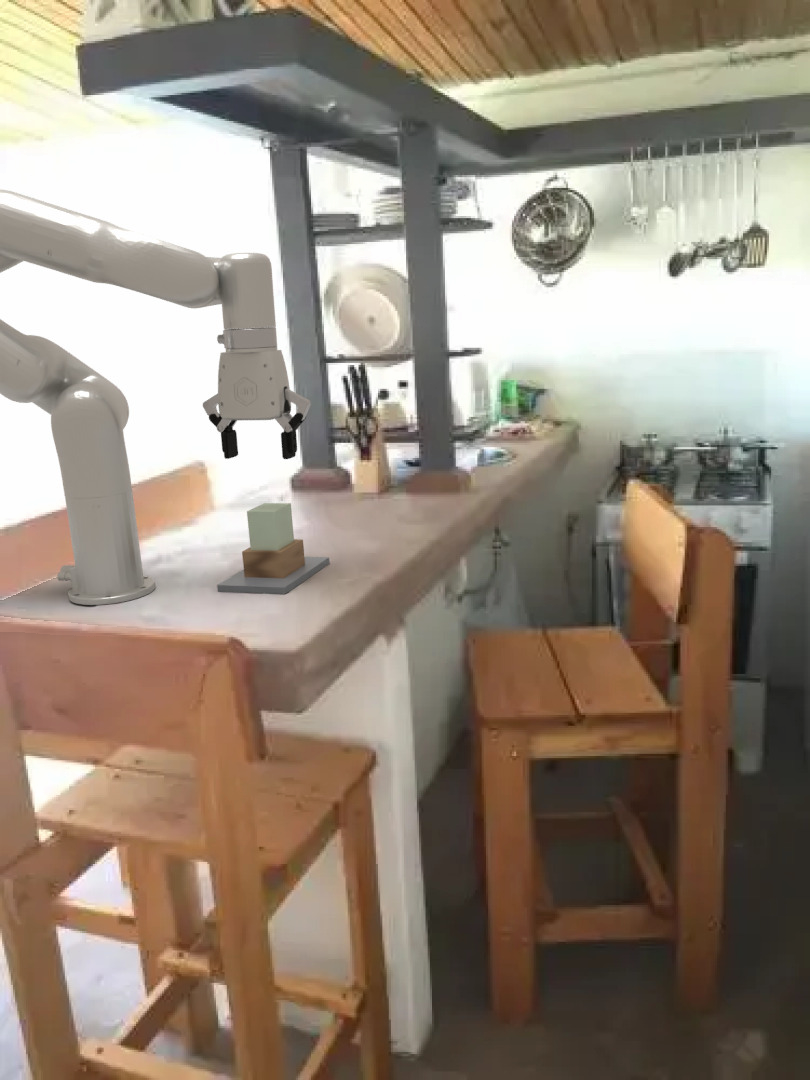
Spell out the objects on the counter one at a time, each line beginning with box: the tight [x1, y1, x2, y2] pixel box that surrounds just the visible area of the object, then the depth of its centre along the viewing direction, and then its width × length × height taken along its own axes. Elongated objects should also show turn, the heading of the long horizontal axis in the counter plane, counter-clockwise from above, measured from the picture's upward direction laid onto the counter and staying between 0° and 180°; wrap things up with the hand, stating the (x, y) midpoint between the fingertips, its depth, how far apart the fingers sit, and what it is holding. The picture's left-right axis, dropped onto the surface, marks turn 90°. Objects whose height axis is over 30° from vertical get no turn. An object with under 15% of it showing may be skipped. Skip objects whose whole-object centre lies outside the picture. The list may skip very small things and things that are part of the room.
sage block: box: [246, 502, 295, 551], centre depth 143 cm, size 4×6×6 cm
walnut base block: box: [241, 538, 306, 578], centre depth 144 cm, size 6×8×4 cm
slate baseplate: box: [216, 556, 330, 595], centre depth 145 cm, size 11×17×1 cm, turn 162°
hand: (260, 457), depth 141 cm, fingers open, 9 cm apart
